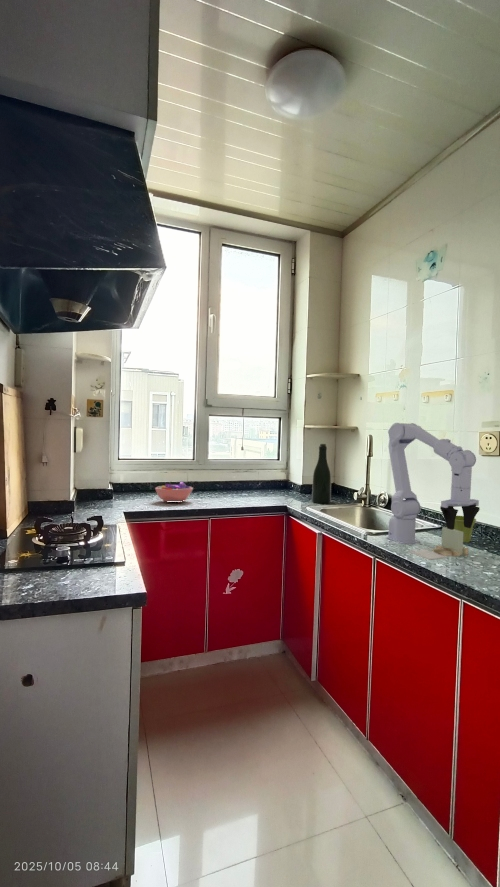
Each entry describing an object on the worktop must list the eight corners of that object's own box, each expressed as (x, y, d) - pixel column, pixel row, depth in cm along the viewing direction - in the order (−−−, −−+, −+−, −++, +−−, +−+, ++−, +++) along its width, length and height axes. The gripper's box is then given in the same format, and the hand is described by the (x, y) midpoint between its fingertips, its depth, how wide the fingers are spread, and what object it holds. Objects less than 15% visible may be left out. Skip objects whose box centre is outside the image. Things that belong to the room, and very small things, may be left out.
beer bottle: (330, 501, 243) (332, 443, 242) (331, 504, 233) (333, 444, 232) (311, 500, 245) (313, 443, 244) (311, 503, 234) (313, 443, 233)
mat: (408, 552, 144) (408, 550, 144) (424, 550, 146) (424, 549, 146) (429, 560, 135) (429, 558, 135) (445, 558, 138) (445, 556, 138)
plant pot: (480, 544, 157) (481, 520, 157) (455, 543, 157) (456, 520, 156) (466, 537, 166) (467, 515, 166) (443, 537, 166) (443, 515, 166)
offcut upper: (433, 551, 145) (433, 548, 145) (440, 550, 146) (440, 547, 146) (445, 555, 140) (445, 552, 140) (451, 554, 141) (451, 551, 141)
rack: (436, 549, 148) (436, 542, 148) (446, 548, 150) (446, 541, 150) (457, 557, 140) (457, 549, 140) (467, 555, 142) (468, 548, 141)
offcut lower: (430, 554, 145) (430, 550, 145) (438, 553, 147) (438, 550, 147) (444, 559, 140) (444, 555, 140) (452, 558, 141) (453, 555, 141)
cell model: (155, 499, 234) (156, 479, 234) (192, 499, 238) (192, 479, 237) (154, 505, 217) (154, 483, 217) (193, 505, 221) (194, 483, 221)
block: (441, 550, 148) (442, 527, 147) (445, 549, 148) (446, 527, 148) (458, 556, 141) (459, 532, 141) (462, 555, 142) (463, 531, 142)
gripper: (454, 489, 133) (452, 532, 133) (487, 488, 138) (485, 529, 139) (436, 486, 139) (434, 527, 140) (469, 485, 145) (467, 524, 145)
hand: (458, 528), depth 140 cm, fingers open, 7 cm apart
